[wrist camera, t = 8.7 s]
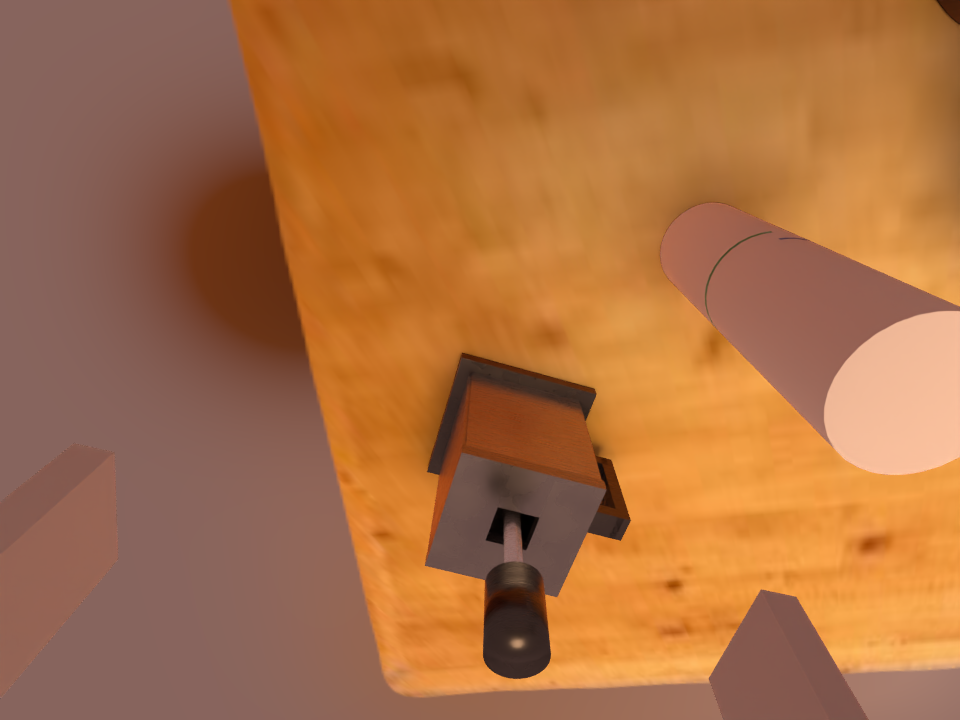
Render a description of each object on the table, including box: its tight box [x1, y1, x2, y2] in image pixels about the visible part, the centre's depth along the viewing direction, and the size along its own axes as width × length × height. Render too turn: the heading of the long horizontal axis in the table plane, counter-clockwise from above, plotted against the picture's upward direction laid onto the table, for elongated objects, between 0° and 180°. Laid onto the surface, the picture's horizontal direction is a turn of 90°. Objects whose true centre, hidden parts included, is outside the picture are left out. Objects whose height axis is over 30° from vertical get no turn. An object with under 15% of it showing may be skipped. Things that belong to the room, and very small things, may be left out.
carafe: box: [425, 353, 631, 597], centre depth 46 cm, size 15×12×14 cm
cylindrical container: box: [660, 203, 960, 475], centre depth 34 cm, size 7×7×25 cm
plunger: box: [483, 509, 551, 679], centre depth 41 cm, size 8×8×22 cm
